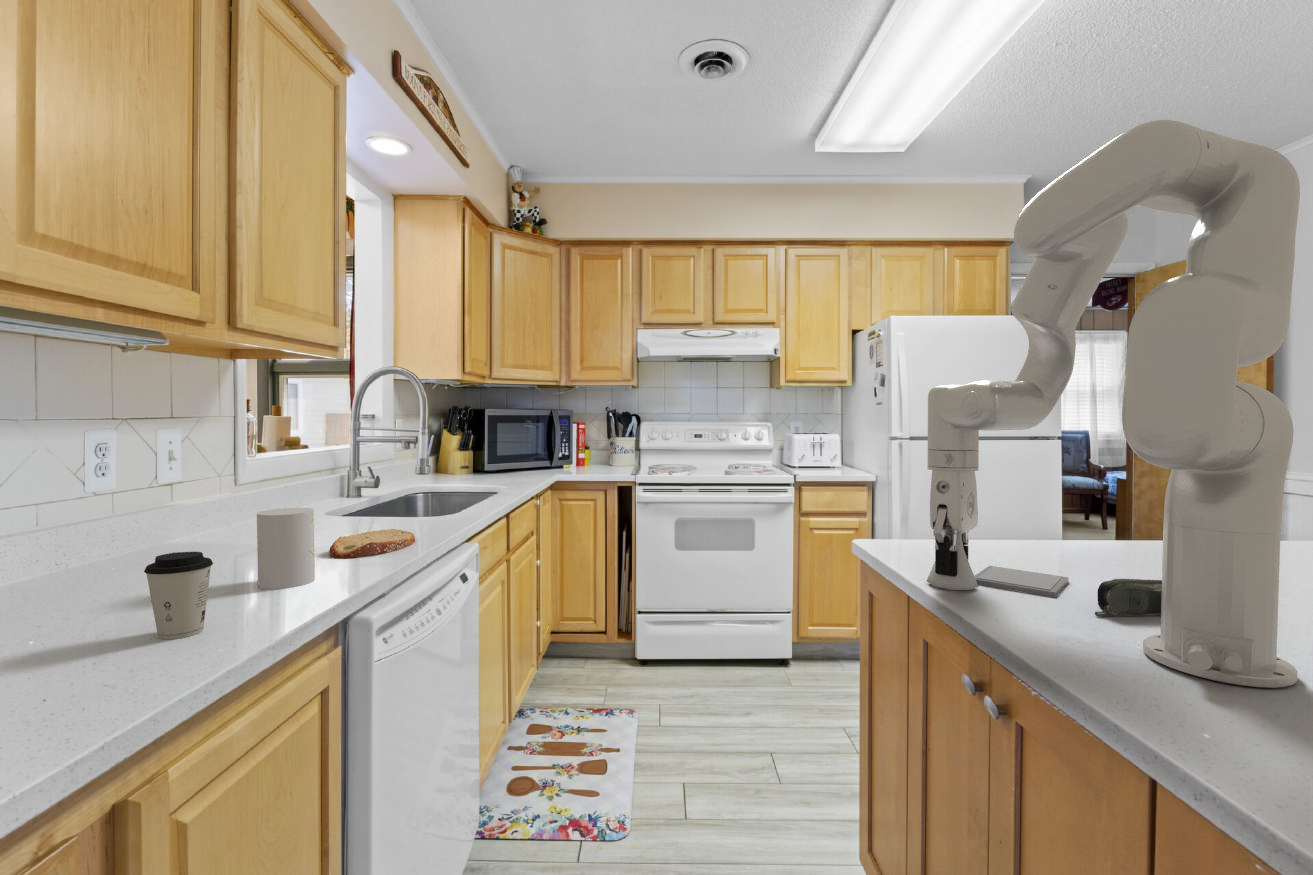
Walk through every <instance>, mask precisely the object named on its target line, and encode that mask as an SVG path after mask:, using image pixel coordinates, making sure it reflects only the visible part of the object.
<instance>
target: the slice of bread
mask: <svg viewBox="0 0 1313 875" xmlns="http://www.w3.org/2000/svg"><path fill="white" fill-rule="evenodd" d="M414 542H416V538H415V535H414V533H412V532H411V531H408V530H404V529H403V530H401V529H397V528H396V529H395V528H391V529H390V528H387V529H379V530H372V531H367V532H360V533H357V534H351V535H347V536H342V535H341V536H339V537H338V538H337V539H335V541H334V542H333V543H332V544H331V546H330V548H329V550H328V552H329V555H330V556H331V557H332V559H334V560H335V559H337V560H340V559H341V560H347V559H348V560H352V559H360V558H366V557H374V556H375V557H376V556H380V555H384V554H390V553H394V552H398V551H400V550H403V549H405V548H407V547H411V546H412V545H414V544H415V543H414ZM413 543H414V544H413Z"/></svg>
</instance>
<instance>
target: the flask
mask: <svg viewBox="0 0 1313 875" xmlns="http://www.w3.org/2000/svg"><path fill="white" fill-rule="evenodd" d="M945 530H946V531H952V528H949V527H948V528H945ZM946 536H948V537H949V539H951V536H950V535H946ZM955 551H958V566H957V576H955V577H953V576H947V575H940V574H936V572H935V562H934V563H933V565H932V568H931V570H930V572H929V574H928V577H927V579H926V582H927V583H929V584H930V585H932V586H933V587H937V588H941V589H946V590H951V591H952V590H955V591H956V590H958V591H962V590H963V591H964V590H965V591H968V590H973V589H976V588H979V585H978V584H977V582H976V579H975V577H974V576H975V575H974V572H973V570H972V567H971V565H970V562H969V558H968V559H967V556H966V554H965V551H964V547H963V542H962V534H960V533H958V531H957V536H956V547H955Z"/></svg>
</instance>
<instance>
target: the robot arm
mask: <svg viewBox="0 0 1313 875" xmlns="http://www.w3.org/2000/svg"><path fill="white" fill-rule="evenodd" d="M1300 197H1301V185H1300V179H1299V175H1298V173H1297V170H1296V168H1295V166H1294V165H1293V164H1292V162H1291V160H1289V159H1288V158H1287V157H1286V156H1285V155H1284V154H1282V153H1281V152H1279V151H1277V150H1275V149H1274V148H1273V149H1272V148H1270V147H1267V146H1264V145H1260V144H1256V143H1252V142H1249V141H1243V140H1241V139H1240V140H1239V139H1236V138H1231V137H1228V136H1224V135H1221V134H1218V133H1217V132H1216V133H1215V132H1213V131H1208V130H1206V129H1202V128H1199V127H1196V126H1194V125H1190V124H1188V123H1185V122H1181V121H1178V120H1172V119H1158V120H1157V119H1156V120H1151V121H1147V122H1143V123H1140V124H1138V125H1135V126H1134V127H1131V128H1129V129H1128V130H1126V131H1124V132H1122V133H1121V134H1119V135H1118V136H1116V137H1114V138H1112V139H1111V140H1110V141H1108V142H1107V143H1106V144H1104V145H1103V146H1101V147H1100V148H1099V149H1096V151H1094V152H1093V153H1091V154H1090V155H1089V156H1087V157H1086V158H1084V159H1082V161H1080V162H1079V163H1077V164H1076V165H1074V166H1072V168H1070V169H1069V170H1067V171H1065V172H1064V173H1062V174H1061V175H1060V176H1058V178H1056V179H1054V180H1053V181H1052V182H1050V183H1049V184H1048V185H1046V186H1045V187H1044V188H1042V190H1040V191H1039V192H1038V193H1037V194H1036V195H1035V196H1034V197H1032V198H1031V199H1030V201H1029V202H1028V203H1027V204H1026V205H1025V206H1024V208H1023V209H1022V211H1021V212H1020V214H1019V215H1018V217H1017V219H1016V221H1015V225H1014V229H1013V240H1014V243H1015V244H1014V245H1015V246H1016V247H1017V249H1018V250H1019V251H1020V252H1021V253H1022V254H1024V255H1026V256H1029V257H1031V258H1034V259H1033V261H1032V263H1031V265H1030V267H1029V270H1028V271H1027V273H1026V275H1025V278H1024V280H1023V282H1022V283H1021V286H1020V287H1019V289H1018V291H1017V293H1016V295H1015V297H1014V299H1013V300H1012V302H1011V306H1010V311H1011V314H1012V316H1013V317H1014V318H1015V320H1016V321H1018V322H1019V323H1020V325H1021V326H1022V327H1023V329H1024V331H1025V332H1026V335H1027V339H1028V350H1027V355H1026V359H1025V361H1024V362H1023V365H1022V367H1021V369H1020V371H1019V373H1018V375H1017V377H1016V378H1015V380H978V381H972V382H968V383H966V384H948V385H946V384H945V385H937V386H933V387H932V388H930V389H929V392H928V395H927V470H928V471H929V470H930V471H931V482H930V495H929V496H930V497H929V524H930V528H931V529H932V530H933V536H934V541H935V543H934V550H935V552H934V553H935V554H934V555H935V558H934V559H935V560H934V563H935V572H936V574H940V575H947V576H953V577H955V576H957V566H958V551H955V547H956V536H957V531H958V533H960V534H962V542H963V547H964V551H965V554H966V556H967V559H968V560H969V532H970V531H972V530H974V529H975V528H976V527H977V526H978V524H979V514H978V510H979V509H978V490H977V487H978V486H977V480H976V472H978V471H979V468H980V464H979V460H980V459H979V457H980V456H979V455H980V454H979V453H980V452H979V451H980V450H979V449H980V446H979V445H980V444H979V443H980V442H979V441H980V440H979V438H980V436H979V435H980V433H979V431H983V432H984V431H987V432H988V431H991V432H992V431H994V432H995V431H1022V430H1028V429H1029V430H1030V429H1032V428H1035V427H1037V426H1038V425H1040V424H1041V423H1042V422H1044V420H1045V419H1046V418H1047V417H1048V416H1049V415H1050V414H1051V413H1052V411H1053V410H1054V407H1055V406H1056V405H1057V403H1058V402H1059V400H1060V398H1061V396H1062V395H1063V393H1064V392H1065V390H1066V387H1067V386H1068V384H1069V381H1070V379H1071V377H1072V374H1073V371H1074V366H1075V358H1076V357H1075V356H1076V348H1077V347H1076V346H1077V340H1076V328H1077V326H1078V323H1079V321H1080V319H1081V318H1082V316H1083V314H1084V312H1085V311H1086V308H1087V307H1088V304H1089V302H1090V301H1091V300H1092V298H1093V295H1094V294H1095V292H1096V291H1097V289H1098V287H1099V284H1100V283H1101V282H1102V279H1103V278H1104V276H1105V275H1106V273H1107V270H1108V269H1109V267H1110V265H1111V264H1112V261H1113V260H1114V258H1115V257H1116V254H1117V253H1118V251H1119V249H1120V248H1121V246H1122V243H1123V241H1124V240H1125V237H1126V236H1127V232H1128V229H1129V228H1128V227H1129V219H1128V215H1127V213H1126V212H1127V211H1130V210H1131V209H1133V208H1135V207H1137V206H1138V207H1139V206H1140V207H1143V208H1148V209H1152V210H1157V211H1163V212H1166V213H1167V212H1168V213H1174V214H1180V215H1188V216H1192V217H1195V218H1196V219H1197V222H1196V224H1195V226H1194V228H1193V230H1192V233H1191V235H1190V237H1189V240H1188V244H1187V250H1186V257H1185V259H1186V261H1185V262H1186V263H1185V265H1186V266H1185V274H1181V275H1178V276H1174V277H1172V278H1169V279H1167V280H1165V281H1163V282H1162V283H1160V284H1159V285H1157V286H1155V287H1154V288H1153V289H1152V290H1150V292H1149V293H1147V294H1146V296H1145V297H1144V298H1143V299H1142V300H1141V302H1140V303H1139V304H1138V305H1137V308H1136V309H1135V312H1134V314H1133V316H1132V318H1131V322H1130V325H1129V329H1128V336H1127V344H1126V355H1125V356H1126V358H1125V371H1124V379H1123V380H1124V382H1123V395H1122V396H1123V397H1122V407H1121V408H1122V410H1121V424H1122V431H1123V434H1124V437H1125V440H1126V442H1127V444H1128V446H1129V447H1130V449H1131V450H1132V452H1134V453H1135V454H1136V456H1138V457H1139V458H1140V459H1141V460H1143V461H1145V462H1146V463H1148V464H1150V465H1153V466H1155V467H1159V468H1161V469H1166V470H1171V471H1170V474H1169V478H1168V482H1167V484H1166V490H1165V496H1164V506H1163V507H1164V508H1163V525H1162V526H1163V527H1162V529H1163V530H1162V567H1161V580H1162V596H1161V616H1160V633H1159V634H1154V635H1151V636H1148V637H1146V638H1145V639H1143V642H1142V644H1143V645H1142V650H1143V653H1145V655H1146V656H1147V657H1149V658H1150V659H1152V660H1154V661H1155V662H1157V663H1159V664H1161V665H1164V666H1165V667H1168V668H1170V669H1174V670H1175V671H1179V672H1182V673H1184V674H1188V675H1192V676H1195V677H1198V678H1203V679H1206V680H1210V681H1215V682H1220V683H1226V684H1232V685H1237V686H1243V687H1252V688H1266V689H1267V688H1268V689H1270V688H1271V689H1273V688H1274V689H1276V688H1278V689H1279V688H1285V687H1291V686H1292V685H1294V684H1296V683H1297V681H1298V670H1297V669H1296V667H1295V666H1294V665H1292V664H1291V663H1290V662H1289V661H1287V660H1285V659H1283V658H1281V657H1278V656H1277V655H1278V654H1277V651H1278V650H1277V649H1278V648H1277V646H1278V623H1279V618H1278V617H1279V595H1280V594H1279V590H1280V563H1281V558H1280V557H1281V532H1282V517H1283V516H1282V514H1283V498H1284V488H1285V482H1286V475H1287V472H1288V471H1287V470H1288V467H1289V461H1290V457H1291V453H1292V448H1293V443H1294V424H1293V419H1292V417H1291V413H1290V411H1289V410H1288V408H1287V406H1286V405H1285V404H1284V403H1283V401H1282V400H1281V399H1280V398H1279V397H1277V395H1275V394H1274V393H1272V392H1270V391H1269V390H1267V389H1266V388H1263V387H1261V386H1258V385H1256V384H1253V383H1248V382H1243V381H1238V380H1237V378H1238V370H1239V368H1244V367H1248V366H1253V365H1255V364H1256V365H1257V364H1258V363H1260V362H1263V361H1265V360H1267V359H1269V358H1270V357H1272V355H1274V354H1275V353H1277V351H1278V350H1279V349H1280V348H1281V346H1282V345H1283V343H1284V342H1285V340H1286V337H1287V334H1288V331H1289V326H1290V318H1291V303H1292V291H1293V280H1294V279H1293V278H1294V270H1295V268H1294V267H1295V258H1296V254H1295V253H1296V234H1297V227H1298V217H1299V216H1298V215H1299V210H1300V199H1301V198H1300ZM948 527H949V528H952V531H946V530H945V528H948ZM946 535H950V536H951V539H949V537H948V536H946Z"/></svg>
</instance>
